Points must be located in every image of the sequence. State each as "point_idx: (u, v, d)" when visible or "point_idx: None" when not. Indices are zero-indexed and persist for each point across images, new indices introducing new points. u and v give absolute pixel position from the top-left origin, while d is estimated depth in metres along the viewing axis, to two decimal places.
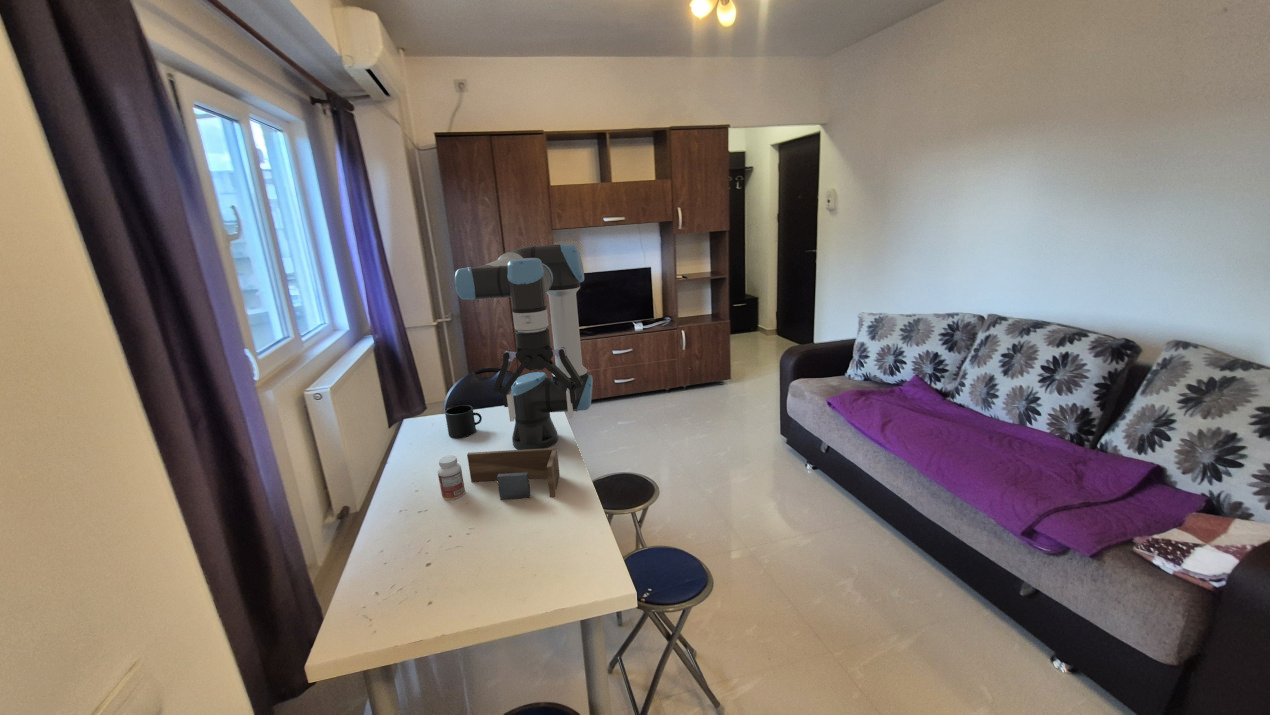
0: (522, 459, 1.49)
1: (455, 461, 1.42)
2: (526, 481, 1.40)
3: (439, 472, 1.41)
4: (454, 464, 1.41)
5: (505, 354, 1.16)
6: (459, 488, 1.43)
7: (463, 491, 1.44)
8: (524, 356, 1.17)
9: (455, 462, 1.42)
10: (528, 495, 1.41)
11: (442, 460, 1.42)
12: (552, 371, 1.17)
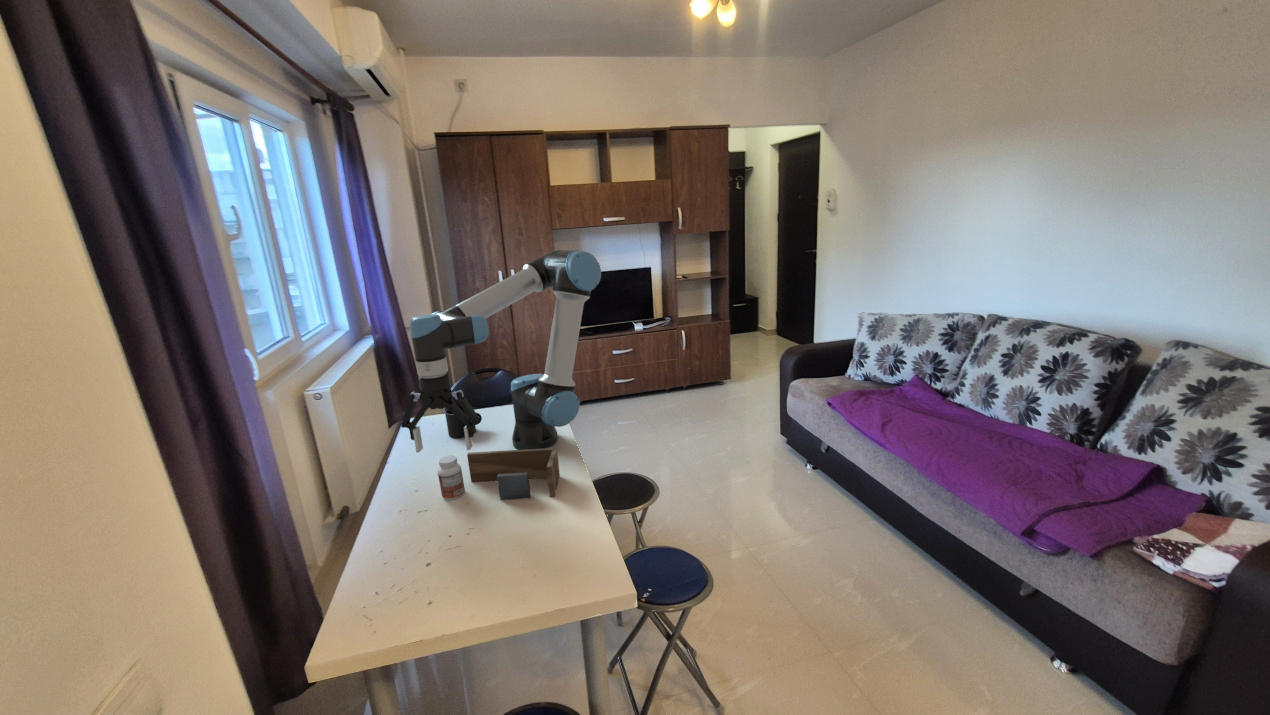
0: (522, 459, 1.49)
1: (455, 461, 1.42)
2: (526, 481, 1.40)
3: (439, 472, 1.41)
4: (454, 464, 1.41)
5: (410, 395, 1.36)
6: (459, 488, 1.43)
7: (463, 491, 1.44)
8: (427, 397, 1.36)
9: (455, 462, 1.42)
10: (528, 495, 1.41)
11: (442, 460, 1.42)
12: (451, 410, 1.37)
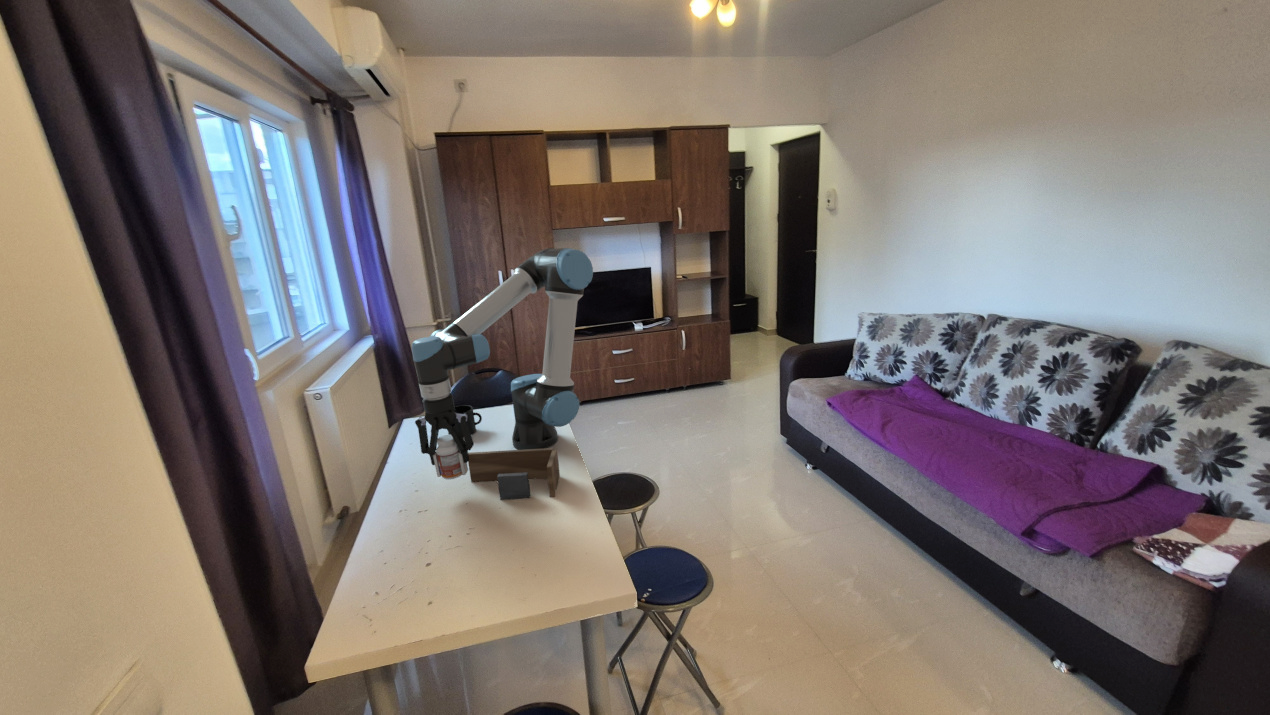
0: (522, 459, 1.49)
1: (453, 440, 1.40)
2: (526, 481, 1.40)
3: (438, 451, 1.40)
4: (452, 443, 1.40)
5: (416, 421, 1.38)
6: (458, 467, 1.41)
7: None
8: (431, 417, 1.38)
9: (453, 441, 1.40)
10: (528, 495, 1.41)
11: (440, 439, 1.40)
12: (451, 433, 1.39)
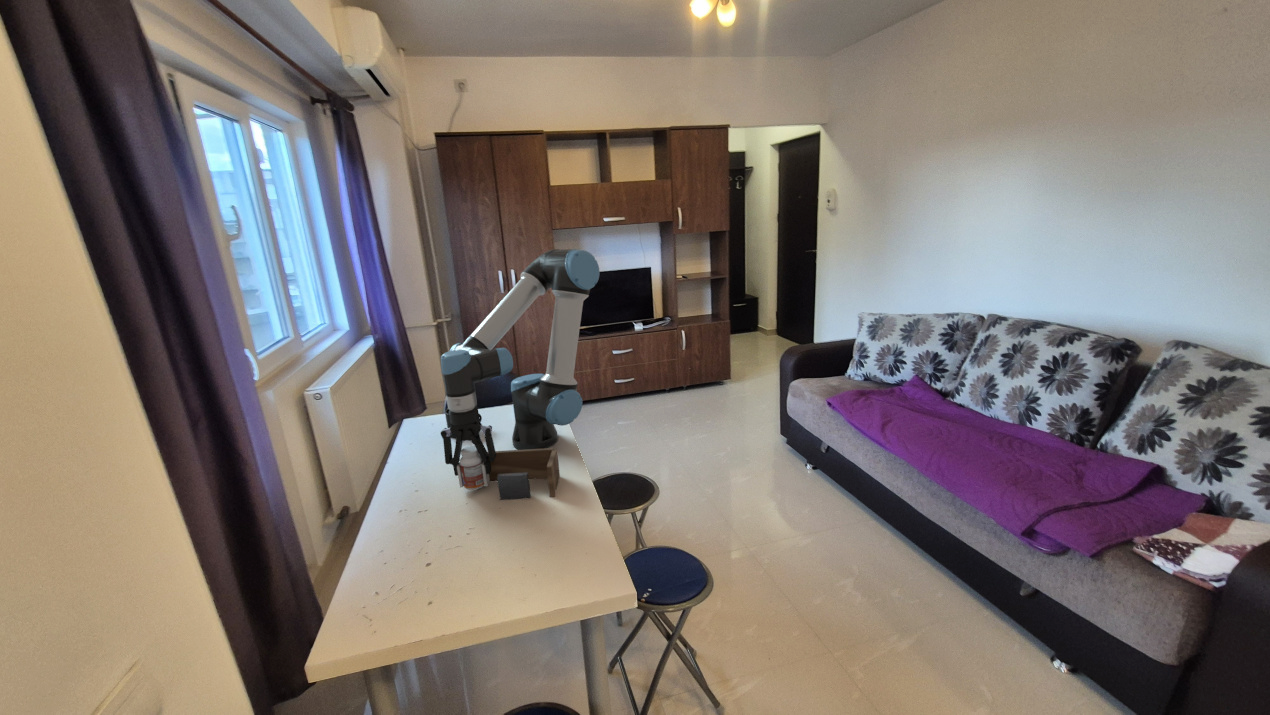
0: (522, 459, 1.49)
1: (477, 451, 1.43)
2: (526, 481, 1.40)
3: (461, 462, 1.42)
4: (476, 454, 1.43)
5: (442, 432, 1.41)
6: (480, 478, 1.44)
7: None
8: (456, 428, 1.41)
9: (477, 452, 1.43)
10: (528, 495, 1.41)
11: (464, 450, 1.43)
12: (475, 444, 1.42)
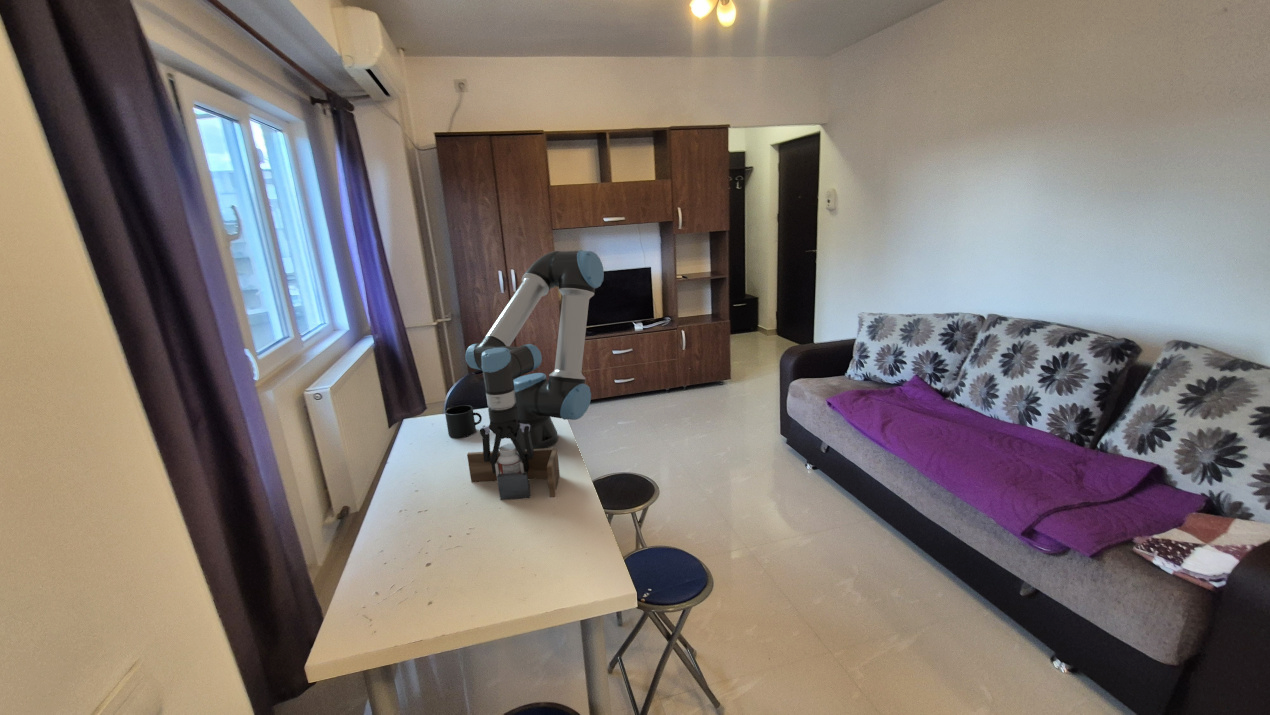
0: None
1: (515, 449, 1.43)
2: (526, 481, 1.40)
3: (500, 460, 1.42)
4: (514, 452, 1.43)
5: (481, 430, 1.41)
6: None
7: None
8: (495, 426, 1.41)
9: (515, 450, 1.43)
10: (528, 495, 1.41)
11: (503, 448, 1.43)
12: (514, 442, 1.42)
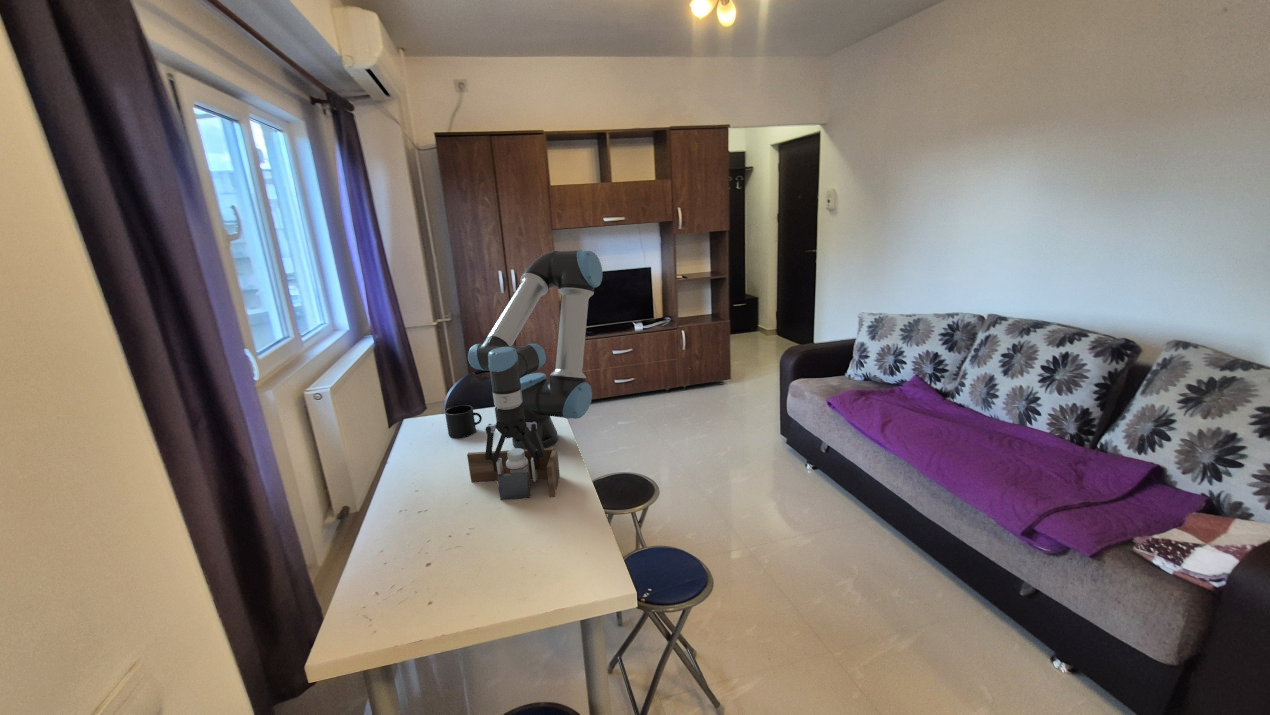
0: None
1: (523, 454, 1.44)
2: (526, 481, 1.40)
3: (508, 465, 1.43)
4: (522, 457, 1.43)
5: (487, 428, 1.41)
6: None
7: (530, 484, 1.46)
8: (502, 426, 1.41)
9: (523, 455, 1.44)
10: (528, 495, 1.41)
11: (510, 452, 1.44)
12: (523, 441, 1.42)
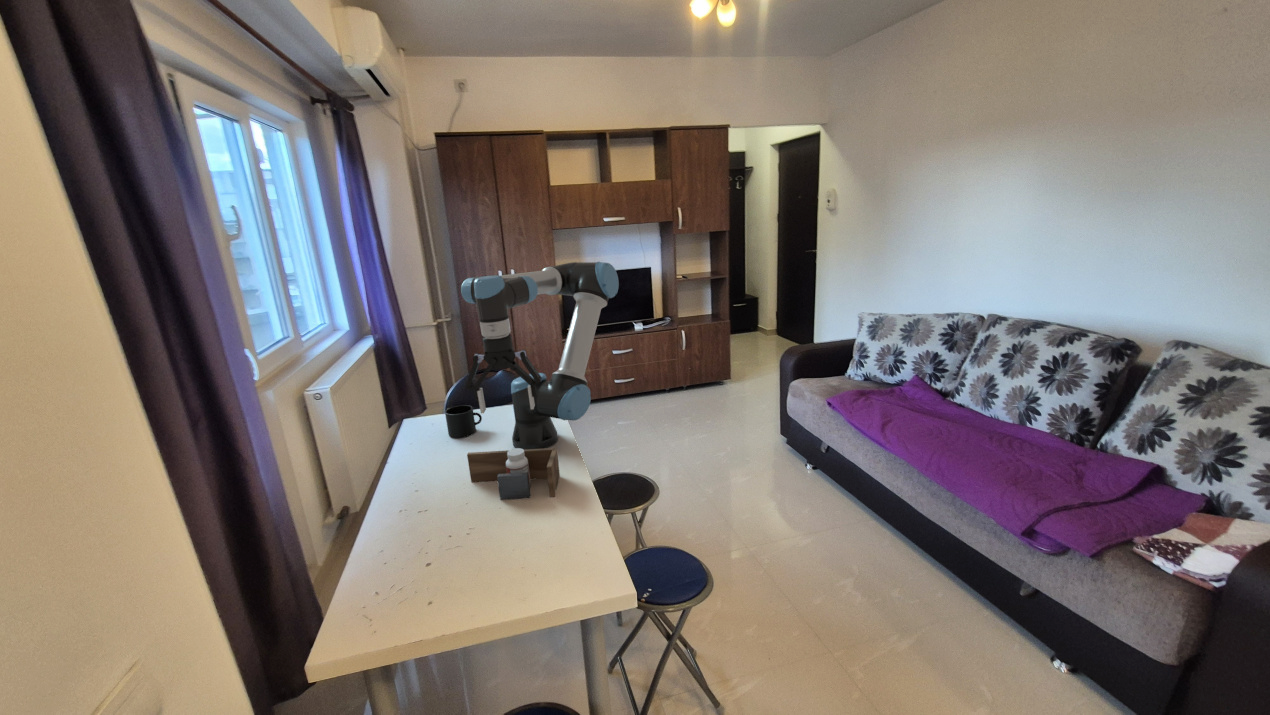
0: None
1: (523, 454, 1.44)
2: (526, 481, 1.40)
3: (508, 464, 1.43)
4: (522, 457, 1.43)
5: (474, 357, 1.38)
6: None
7: (530, 484, 1.46)
8: (491, 358, 1.38)
9: (523, 455, 1.44)
10: (528, 495, 1.41)
11: (510, 452, 1.44)
12: (515, 370, 1.39)
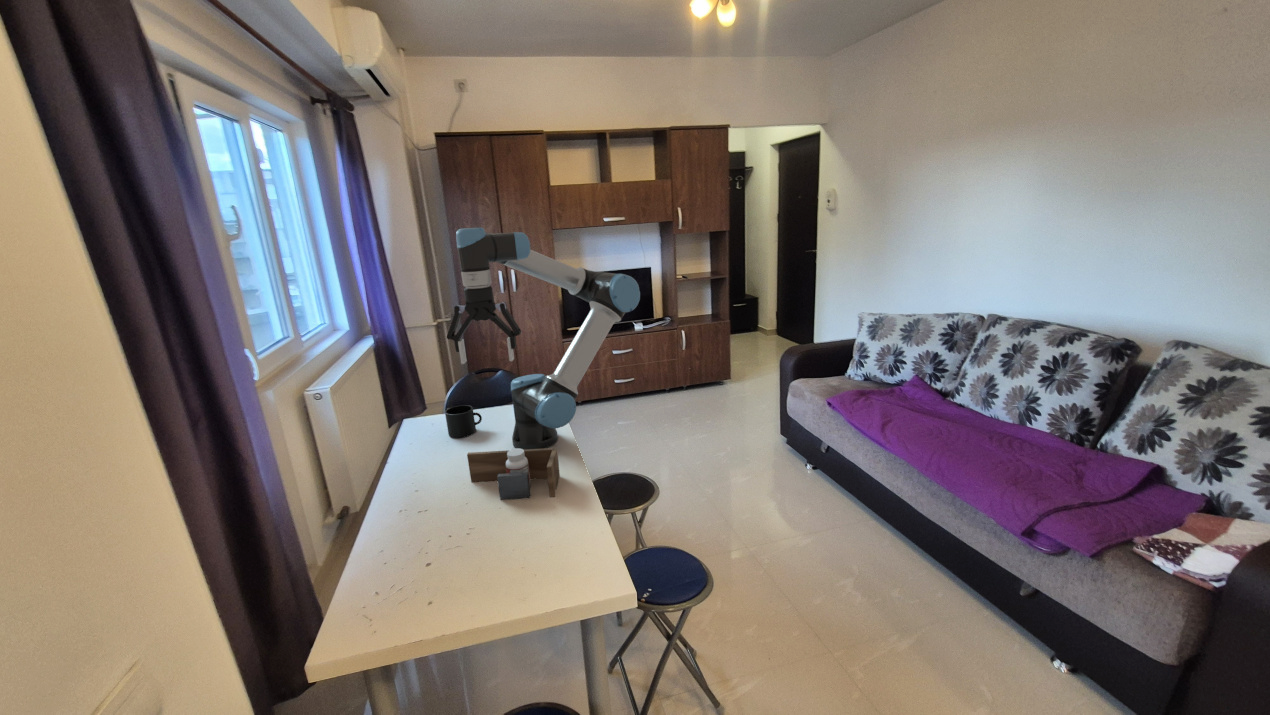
0: None
1: (523, 454, 1.44)
2: (526, 481, 1.40)
3: (508, 465, 1.43)
4: (522, 457, 1.43)
5: (456, 307, 1.42)
6: None
7: (530, 484, 1.46)
8: (471, 309, 1.42)
9: (523, 455, 1.44)
10: (528, 495, 1.41)
11: (510, 453, 1.43)
12: (495, 321, 1.43)
